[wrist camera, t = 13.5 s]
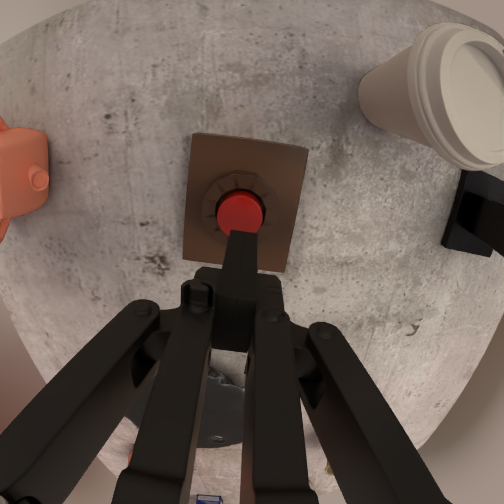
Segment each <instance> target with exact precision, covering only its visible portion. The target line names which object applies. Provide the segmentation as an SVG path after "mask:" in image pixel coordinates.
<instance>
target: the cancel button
mask: <svg viewBox="0 0 504 504" xmlns="http://www.w3.org/2000/svg"><path fill="white" fill-rule="evenodd" d="M262 219H263V217H262V207H261V204H260V202H259V200H258V199H257V198H256V197H255V196H254V195H253V194H251V193H249V192H246V191H235V192H232V193H230V194H228V195H227V196H226V197H225V198H224V199H223V200H222V202H221V204H220V207H219V209H218V213H217V221H218V225H219V227H220V228H221V230H222V231H223V232H224V233H225V234H226V235H228V236H229V235H230V230H231V229H232V230H239V231H246V232H253V233H256V232H257V231H258V230H259V228H260V226H261V224H262Z"/></svg>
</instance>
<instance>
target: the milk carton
mask: <svg viewBox="0 0 504 504" xmlns="http://www.w3.org/2000/svg"><path fill="white" fill-rule="evenodd" d="M196 504H223V501H222V498H221V496H208V495H197V503H196Z"/></svg>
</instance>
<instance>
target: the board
mask: <svg viewBox="0 0 504 504" xmlns="http://www.w3.org/2000/svg"><path fill="white" fill-rule="evenodd" d="M157 371H158V369H157ZM157 371H156V372H155V373H154V375H153V376H152V378H151V379H150V380H149V382H148V383H147V385H146V386H145V387H144V389H143V390H142V392H141V393H140V394H139V396H138V397H137V399H136V400H135V402H134V403H133V404H132V406H131V407H130V409H129V410H128V411H127V413H126V414H125V417H126V418H128V419H129V420H130V421H131V422H132V423H133V424H134V425H135V426H136V427H137V428H138V429H139V428H140V425H141V421H142V418H143V415H144V411H145V408H146V405H147V402H148V399H149V395H150V392H151V389H152V386H153V383H154V380H155V377H156V374H157ZM244 400H245V388H242V387H239V386H235V385H234V384H233V383H232V381H231V380H230V379H228V378H227V377H226V376H225V375H224V374H223V373H222V372H220V371H217V370H215V369H213V368H211V367H209V371H208V377H207V383H206V389H205V395H204V402H203V408H202V414H201V421H200V427H199V434H198V440H197V447H196V448H220V447H225V446H230V445H234V444H239V443H241V442H243V421H244ZM215 436H220V437H223V438H217V437H215Z"/></svg>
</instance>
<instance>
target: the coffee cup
mask: <svg viewBox="0 0 504 504" xmlns="http://www.w3.org/2000/svg"><path fill="white" fill-rule="evenodd" d="M358 102H359V105H360V108H361V110H362V112H363V114H364V116H365V117H366V118H367V119H368V120H369V121H370V122H371V123H372V124H373V125H374V126H376V127H378V128H380V129H383V130H385V131H388V132H391V133H394V134H397V135H400V136H402V137H405V138H408V139H411V140H413V141H416V142H418V143H421V144H423V145H426V146H428V147H430V148H433V149H434V150H435V151H436V152H437V153H438V154H439V155H440V156H441V157H442V158H443V159H445V160H446V161H447V162H449V163H450V164H452V165H454V166H456V167H458V168H460V169H464V170H469V171H480V170H487V169H490V168H493V167H496V166H498V165H499V164H501V163H504V47H503V46H502V45H501V44H500V43H499V42H498V41H497V40H495V39H494V38H493V37H491V36H490V35H488V34H486V33H484V32H481V31H478V30H476V29H474V28H472V27H469V26H466V25H463V24H459V23H448V22H444V23H437V24H434V25H431V26H429V27H428V28H426V29H425V30H424V31H422V32H421V33H420V34H419V36H418V37H417V38H416V40H415V42H414V44H413V45H412V46H410V47H409V48H407V49H405V50H404V51H402V52H400V53H399V54H397V55H395V56H394V57H392V58H390V59H389V60H387V61H386V62H384V63H382V64H381V65H379V66H377V67H376V68H374V69H373V70H371V71H370V72H368V73H367V74H366V75H365V76H364V77H363V78H362V80H361V82H360V84H359V88H358Z"/></svg>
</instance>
